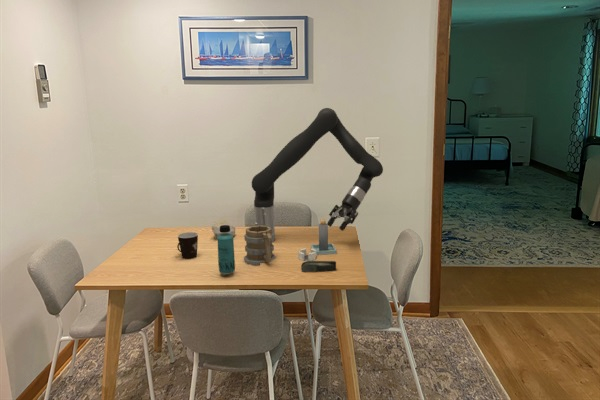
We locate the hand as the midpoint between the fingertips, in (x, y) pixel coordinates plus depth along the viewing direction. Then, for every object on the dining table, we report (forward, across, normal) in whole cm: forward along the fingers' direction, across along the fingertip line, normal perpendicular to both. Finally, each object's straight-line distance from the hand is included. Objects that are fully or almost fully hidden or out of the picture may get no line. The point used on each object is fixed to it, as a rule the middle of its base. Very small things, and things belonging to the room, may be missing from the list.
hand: (334, 227), depth 208 cm
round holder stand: (+20, +3, -5) cm, 20 cm away
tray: (+12, 0, +3) cm, 12 cm away
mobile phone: (+24, +17, -8) cm, 30 cm away
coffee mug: (+47, -33, -33) cm, 66 cm away
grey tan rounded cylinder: (+11, 0, +2) cm, 11 cm away
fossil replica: (+29, -50, -14) cm, 59 cm away
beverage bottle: (+44, -4, -29) cm, 53 cm away
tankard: (+31, -7, -16) cm, 36 cm away
